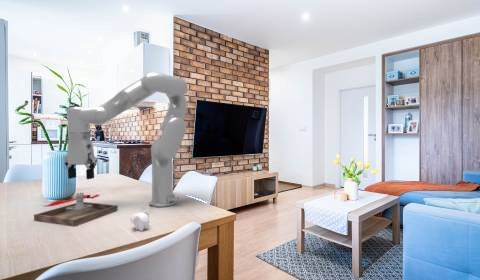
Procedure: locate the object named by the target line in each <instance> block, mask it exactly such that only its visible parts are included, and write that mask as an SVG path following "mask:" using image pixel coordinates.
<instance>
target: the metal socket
mask: <svg viewBox="0 0 480 280" xmlns="http://www.w3.org/2000/svg"><path fill="white" fill-rule="evenodd" d="M75 206H76V205H75ZM75 206H72V207H68V208H65V214H69V215H76V216H79V215H82V214H85V213H88V212H91V211H93V205H85V204H84V206H85V207H84V208H81V209H74V208H75Z"/></svg>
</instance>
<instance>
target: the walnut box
mask: <svg viewBox="0 0 480 280" xmlns="http://www.w3.org/2000/svg"><path fill="white" fill-rule="evenodd" d="M83 203H84V204H85V205H93V211H91V212H88V213H85V214H82V215H79V216H76V215H69V214H65V208H68V207H72V206H75V205H76V202H75V203H72V204H68V205H64V206H62V207H57V208H54V209H49V210H45V211H43V212H39V213H36V214H33V222H41V223H47V224H53V225H59V226H60V225H62V226H69V227H79V225H84V224H86V223H88V222H89V223H90V222H91V221H94V220H96V219H99V218H102V217H105V216H108V215H109V214H112V213H113V214H114V213H115V212H117V211H118V209H119V208H118V204H117V205H116V204H106V203H97V202H88V201H83Z"/></svg>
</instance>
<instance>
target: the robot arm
mask: <svg viewBox="0 0 480 280" xmlns="http://www.w3.org/2000/svg"><path fill="white" fill-rule="evenodd" d="M188 87H189V86H188V83H187V81H186V80H185V79H183V78H181V77H178V76H175V75H170V74H165V73H159V72H157V71H156V72H153V71H151V72H148V73H146V74H145V75H144V76H143V77H141V78H140V79H138V80H137V81H135V82H133V83H132V84H130V85H128V86H126V87H125V88H123V89H121V90H120V91H118V93H117V94H115V95H114V96H113V97H112V98H110V99H109V100H107V101H106V102H104V103H102V104H101V105H99V106H91V107H83V106H73V107H72V106H70V107H68V108H67V109H66V115H67V118H66V119H67V135H68V142H67V150H66V156H65V157H63V162H64V165H65V166H66V169H67V177H68V178H67V179H74V178H77V168H76V166H77V165H78V166H85V168H86V170H85V175H86V180H92V179H94V178H95V169H96V166H97V163H98V161H99V158H98V157H97V156H95V149H94V145H93V142H92V140H91V138H90V137H91V134H90V131H91V130H90V125H96V126H102V125H105V124H107V123H108V122H110V121H111V120H112V119H114V118H116V117H118V116H119V115H121V114H122V113H124V112H126V111H128V110H131V109H132V108H133V107H135V106H136V105H138V104H139V103H141V102H143V101H145V100H146V99H148V98H149V97H150V96H152V95H154V94H155V93H162V94H165V95H166V97H167V98H168V102H169V105H168V109H167V112H166V114H165V116H164V119H163V120H162V123H161V127H160V128H161V132H162V133H161V136H160V137H159V138H157V139H155V140H154V141H153V142H152V145H150V146H151V147H150V155H151V200H149V201H148V205H149V206H150V207H153V208H164V207H171V206H174V205H176V203H178V202H179V201H180V196H176V195H175V193H174V191H173V189H174V185H173V181H174V180H173V178H174V174H173V173H174V171H173V170H174V169H173V168H174V166H173V163H174V162H173V158H174V157H175V156H176V155H177V154H178V152H179V150H180V147H181V145H182V143H183V140H184V137H185V134H186V132H187V124H186V122H185V120H184V119H185V116H186V113H187V109H188V101H187V99H186V98H187V97H186V96H185V95H186V94H187V92H188V91H189V90H188V89H189V88H188Z"/></svg>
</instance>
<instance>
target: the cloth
mask: <svg viewBox="0 0 480 280" xmlns="http://www.w3.org/2000/svg"><path fill="white" fill-rule="evenodd" d="M97 197H100V194H95V195H93V196H91V194H86V195H85V194H84V196H83V198H84V199H83V200H85V199H91V200H93V199H95V198H97ZM74 201H76V198H72V199H66V200H57V201H54V202H51V203H49V204H47V205H46V204H45V205H43V208H44V207H54V206H58V205H63V204H66V203H70V202H74Z"/></svg>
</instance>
